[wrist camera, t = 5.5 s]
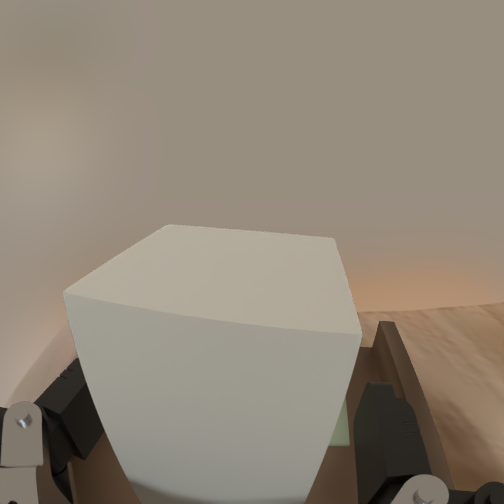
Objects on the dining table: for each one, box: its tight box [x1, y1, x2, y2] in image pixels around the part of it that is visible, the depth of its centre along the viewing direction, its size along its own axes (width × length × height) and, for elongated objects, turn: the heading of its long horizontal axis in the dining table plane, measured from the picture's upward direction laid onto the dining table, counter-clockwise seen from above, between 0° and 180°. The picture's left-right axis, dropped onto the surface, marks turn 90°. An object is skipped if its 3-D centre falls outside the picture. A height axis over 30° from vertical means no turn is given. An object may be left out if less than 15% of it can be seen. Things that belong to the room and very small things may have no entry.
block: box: [62, 224, 363, 504], centre depth 8 cm, size 4×4×12 cm
